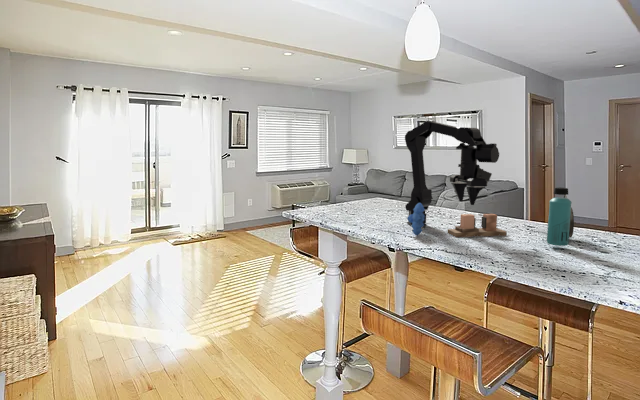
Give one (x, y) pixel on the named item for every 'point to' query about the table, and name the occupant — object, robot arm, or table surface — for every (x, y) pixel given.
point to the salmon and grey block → (467, 221)
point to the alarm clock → (571, 221)
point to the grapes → (417, 219)
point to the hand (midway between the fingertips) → (466, 203)
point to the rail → (487, 228)
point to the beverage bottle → (559, 219)
